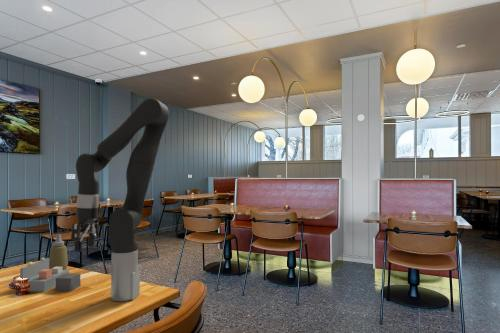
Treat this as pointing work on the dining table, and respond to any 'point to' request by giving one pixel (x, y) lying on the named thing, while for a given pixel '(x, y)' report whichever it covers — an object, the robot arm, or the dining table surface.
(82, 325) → the dining table surface
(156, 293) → the dining table surface
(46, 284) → the breaker box
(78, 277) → the grey square block
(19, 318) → the dining table surface
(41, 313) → the dining table surface
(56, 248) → the squeeze bottle
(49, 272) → the breaker button
